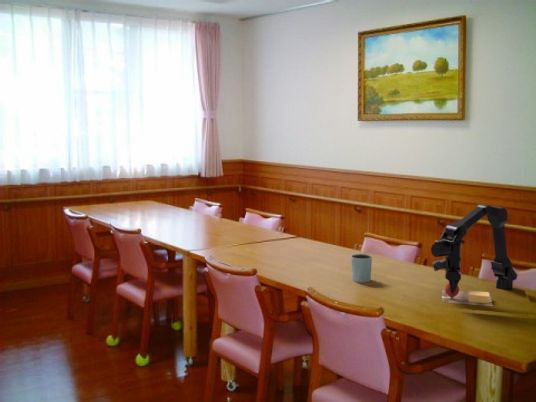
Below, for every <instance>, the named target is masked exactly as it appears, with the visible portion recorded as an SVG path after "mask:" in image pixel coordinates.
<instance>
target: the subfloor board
mask: <svg viewBox="0 0 536 402" xmlns="http://www.w3.org/2000/svg"><path fill="white" fill-rule="evenodd" d="M441 291H442V292H441V303H448V304H449V303H450V304H461V305H462V304H463V305H473V306H483V307H485V306H486V307H493V302H492V297H491V293H489V303H479V302H469V291H463V290H462V291H460V290H459V293H458V294H457V295H456V296H455V297H453V298H451V297H450V296H448V295H447V294H446V292H445V289H442V290H441Z"/></svg>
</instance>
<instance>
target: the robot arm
mask: <svg viewBox="0 0 536 402" xmlns="http://www.w3.org/2000/svg"><path fill="white" fill-rule="evenodd" d="M485 216H486V218H487V221H488V223H489V224H490V225H491V228H492V236H493V237H492V238H493V247H494V258H493V260H491V262H490V264H491V265H490V266H491V268H490V269H491V270H492V272H493V276H494V277H496V279H495V288H496V289H498V290H502V291H503V290H504V291H510V290H511V291H512V290H513V286H514V285H513V284H514V281H515V280H517V279H518V274H517V272H516V271H515V270H514V267H513V263H512V261H511V260H510V258H509V257H508V250H507V240H506V229H505V225H506V223H507V222H508V209H506V208H505V207H499V206H495V205H494V206H493V205H488V204H483V203H480V204H478V205H476V207H475V208H474V209H473V210H471V211H470V212H469V213H467V214H466V215H465V216H464V217H462V218H461V219H460V220H457V221H453V222H451V223H449V224H447V226H445V229H444V231H443V232H442V234H441V236H440V238H439V240H435V241H434V243H433V244H431V247H430V252H431V255H432V256H433V257H435V258H441V257H445V258H443V259H439V260H435V261H433V262H432V267H433V270H434V272H438V271H440V270H443V269H445V272H444V273H445V277H444V278H445V279H446V280H447V281H448V283H449V284H450V289H451V293H454V291H455V289H456V287H457V285H458V286H459V282H460V281H461V280H462V273H461V261H462V260H461V258H462V245H463V244H466V242H465V240H463V238H464V237H465V236H466V235H467V234H468V231H469V229H470V228H471V227H472V226H474V225H476V223H477V222H479V221H480V220H481V219H483V218H484V217H485Z"/></svg>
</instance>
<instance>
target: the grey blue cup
mask: <svg viewBox="0 0 536 402" xmlns="http://www.w3.org/2000/svg"><path fill="white" fill-rule="evenodd" d="M350 262H351V272H352V273H351V274H352V281H353V282H355V283H359V284H361V283H362V284H365V283H369V282H371V279H372V278H371V277H372V275H371V274H372V262H373V256H372V255H371V254H365V253H357V254H356V253H355V254H352V255H350Z"/></svg>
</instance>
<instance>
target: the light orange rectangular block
mask: <svg viewBox="0 0 536 402" xmlns="http://www.w3.org/2000/svg"><path fill="white" fill-rule="evenodd" d="M468 292H469V302H479V303H489V294H490V292H487V291H475V290H469V291H468Z"/></svg>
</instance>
